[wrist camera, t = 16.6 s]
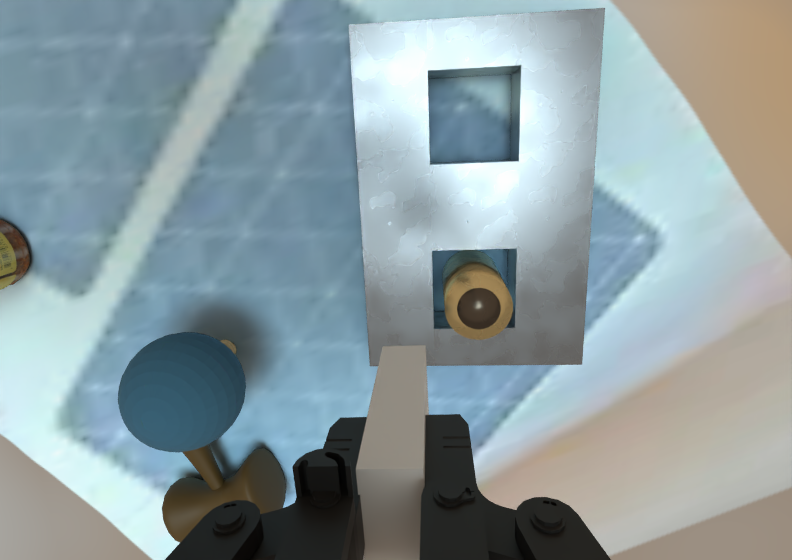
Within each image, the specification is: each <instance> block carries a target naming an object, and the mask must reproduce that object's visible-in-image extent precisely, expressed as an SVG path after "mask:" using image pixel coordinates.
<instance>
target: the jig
mask: <svg viewBox="0 0 792 560" xmlns="http://www.w3.org/2000/svg"><path fill="white" fill-rule="evenodd" d="M604 15H605V8H597V9H581V10H566V11H551V12H535V13H520V14H505V15H489V16H474V17H459V18H443V19H428V20H413V21H397V22H382V23H367V24H351V25H349V39H350V55H351V71H352V87H353V103H354V119H355V135H356V151H357V167H358V183H359V199H360V215H361V231H362V247H363V263H364V279H365V295H366V311H367V327H368V343H369V359H370V366H378V365H379V361H380V356H381V352H382V347H383V346H414V345H425V348H426V366H454V365H580V364H582V356H583V341H584V325H585V310H586V294H587V279H588V263H589V248H590V232H591V217H592V201H593V186H594V170H595V154H596V139H597V123H598V108H599V92H600V77H601V61H602V46H603V30H604ZM501 74H511V125H510V160H486V161H462V162H438V163H430V138H429V95H428V78H447V77H465V76H483V75H501ZM478 249H508V283H507V289H508V291H509V293H510V295H511V298H512V302H513V313H512V317H511V319H510V321H509V323H508V325H507V326H506V327H505V328H504V329H503V330H502V331H501V332H500V333H499V334H497V335H495V336H493V337H491V338H488V339H483V340H474V339H469V338H466V337H463V336H461V335H460V334H458V333H457V332H456V331H454V330H453V329H452V327H451V326H450V325H449V323H448V321H447V318H446V315H445V311H434V308H433V265H432V251H441V250H478Z"/></svg>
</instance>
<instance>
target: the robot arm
mask: <svg viewBox="0 0 792 560" xmlns="http://www.w3.org/2000/svg"><path fill="white" fill-rule="evenodd" d="M293 474H294V481H295V488H296V495H297V498H296V501H295V503H294V504H292V505H290V506H288V507H285V508H282V509H279V510H275V511H271V512H267V513H263V514H261V513H260V509H259V508H258V507H257V505H256V504H255V503H252V502H250V501H247V500H235V501H231V502H226V503H223V504H221V505H219V506H217V507H215V508H213V509H212V510H211V511H210V512H209V513H208V514H206V515H205V516H204V517H203V518H202V519H201V520H200V522H199V523H198V524H197V525H196V526H195V527H194V528H193V529H192V530H191V531H190V533H189V534H188V535H187V536H186V537H185V538H184V539H183V540H182V541H181V543H180V544H179V545H178V546H177V547H176V548H175V549H174V550H173V551H172V553H171V554H170V555H169V556H168V557H167V558H166V559H165V560H363V555H364V558H365V560H610V558H609V557H608V555H607V554H606V552H605V551H604V550H603V548H602V547H601V546H600V544H599V543H598V541H597V540H596V539H595V537H594V536H593V534H592V533H591V532H590V530H589V529H588V528H587V526H586V525H585V523H584V522H583V521H582V519H581V518H580V517H579V515H578V514H577V513H576V512H575V511H574V510H573V509H572V508H571V507H570V506H569V505H567V504H565V503H563V502H561V501H559V500H556V499H551V498H547V497H535V498H531V499H528V500H526V501H524V502H523V503H521V504H520V505H519V506H518V507H517V510H513V509H509V508H505V507H502V506H499V505H496V504H494V503H493V502H491V501H489V500H488V499H486V498H485V497H484V496H483V495H482V494H481V492H480V491H479V490H478V487H477V484H476V478H475V470H474V463H473V456H472V449H471V441H470V434H469V427H468V424H467V422H466V421H465V420H464V419H463V418H462V417H461V415H460V414H452V415H429V411H428V390H427V369H426V348H425V345H414V346H383V347H382V352H381V356H380V361H379V365H378V370H377V375H376V379H375V384H374V388H373V393H372V397H371V402H370V406H369V411H368V415H367V417H354V418H340V419H339V420H338V421H337V422H336V423H335V424H334V425H332V426H331V427H330V430H329V433H328V435H327V438H326V442H325V444H324V447H323V449H318V450H314V451H312V452H309V453H306V454H305V455H303V456H302V457H300V458H299V459H298V460H297V461H296V462H295V464H294V465H293Z"/></svg>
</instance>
